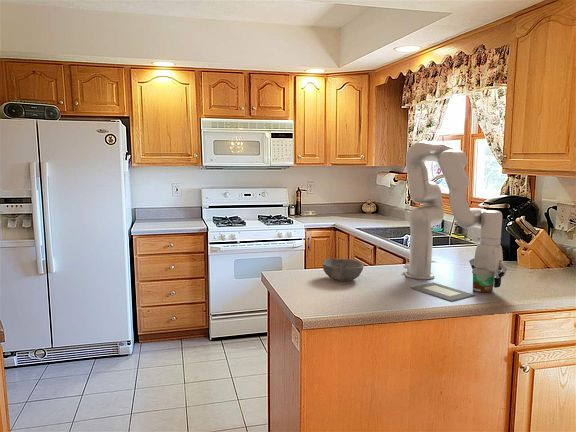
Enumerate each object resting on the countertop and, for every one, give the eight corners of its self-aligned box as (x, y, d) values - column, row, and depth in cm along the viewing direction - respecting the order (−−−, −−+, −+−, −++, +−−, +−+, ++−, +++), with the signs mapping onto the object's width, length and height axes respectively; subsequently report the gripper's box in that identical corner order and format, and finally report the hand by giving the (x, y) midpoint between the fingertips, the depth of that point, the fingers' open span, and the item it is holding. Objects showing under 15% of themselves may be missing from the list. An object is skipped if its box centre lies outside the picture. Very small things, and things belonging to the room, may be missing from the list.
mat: (410, 288, 189) (410, 286, 189) (433, 283, 197) (433, 282, 197) (451, 301, 173) (451, 300, 172) (474, 295, 180) (474, 294, 180)
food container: (484, 296, 180) (486, 271, 178) (470, 292, 185) (472, 268, 183) (501, 291, 187) (503, 267, 186) (487, 287, 192) (489, 264, 191)
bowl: (362, 287, 190) (362, 268, 189) (319, 284, 193) (319, 265, 192) (363, 276, 207) (364, 258, 206) (324, 273, 211) (325, 256, 210)
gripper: (465, 239, 188) (462, 280, 191) (505, 246, 174) (501, 291, 176) (476, 237, 192) (473, 278, 195) (516, 244, 178) (512, 288, 180)
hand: (487, 284), depth 185 cm, fingers open, 8 cm apart
